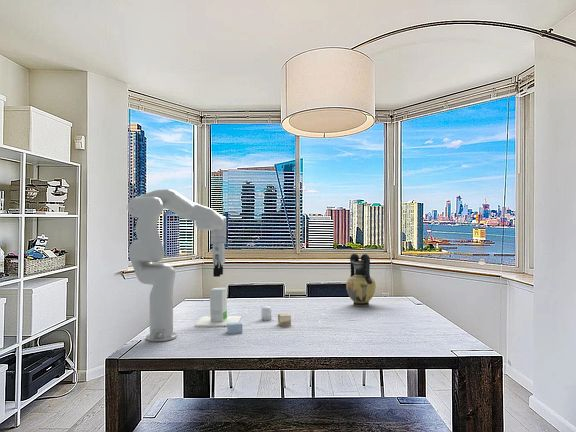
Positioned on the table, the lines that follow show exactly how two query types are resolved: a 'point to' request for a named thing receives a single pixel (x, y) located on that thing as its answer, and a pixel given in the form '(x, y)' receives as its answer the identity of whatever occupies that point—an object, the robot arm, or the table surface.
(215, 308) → the skincare box
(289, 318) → the birch block
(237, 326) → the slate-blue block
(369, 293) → the amphora
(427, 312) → the table surface
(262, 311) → the white rounded piece
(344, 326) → the table surface
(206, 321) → the cream mat
